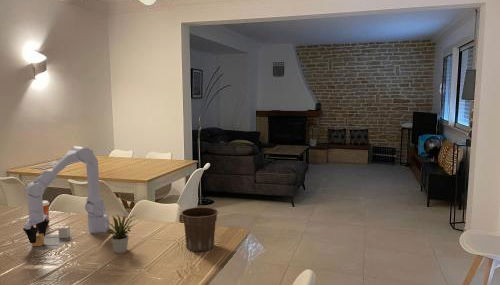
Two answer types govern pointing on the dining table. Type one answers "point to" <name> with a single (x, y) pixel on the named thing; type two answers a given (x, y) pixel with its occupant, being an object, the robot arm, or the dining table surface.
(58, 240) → the console
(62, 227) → the grey fader
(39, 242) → the orange fader
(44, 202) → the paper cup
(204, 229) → the plant pot
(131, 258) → the dining table surface
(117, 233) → the house plant
